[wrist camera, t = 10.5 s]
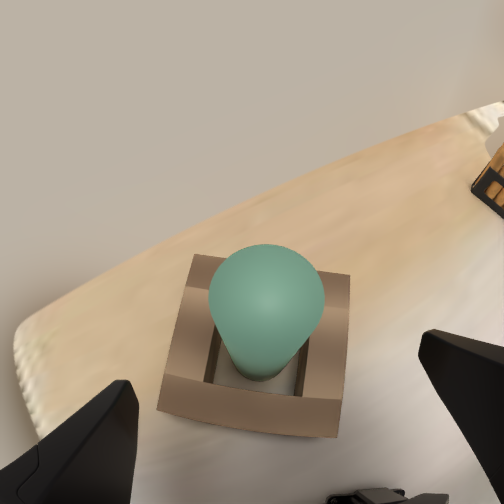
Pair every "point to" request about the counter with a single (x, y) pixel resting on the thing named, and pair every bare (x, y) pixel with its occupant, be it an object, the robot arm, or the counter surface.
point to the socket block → (252, 402)
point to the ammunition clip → (492, 183)
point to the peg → (265, 307)
